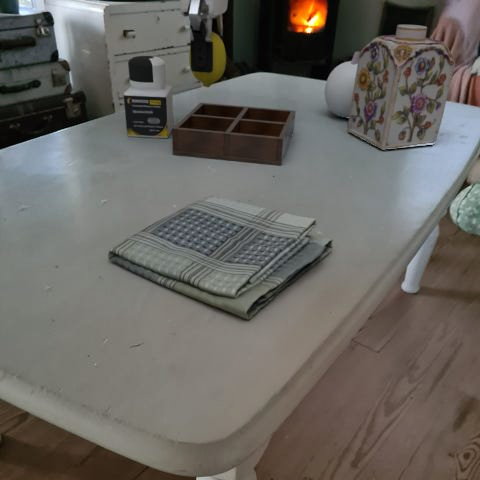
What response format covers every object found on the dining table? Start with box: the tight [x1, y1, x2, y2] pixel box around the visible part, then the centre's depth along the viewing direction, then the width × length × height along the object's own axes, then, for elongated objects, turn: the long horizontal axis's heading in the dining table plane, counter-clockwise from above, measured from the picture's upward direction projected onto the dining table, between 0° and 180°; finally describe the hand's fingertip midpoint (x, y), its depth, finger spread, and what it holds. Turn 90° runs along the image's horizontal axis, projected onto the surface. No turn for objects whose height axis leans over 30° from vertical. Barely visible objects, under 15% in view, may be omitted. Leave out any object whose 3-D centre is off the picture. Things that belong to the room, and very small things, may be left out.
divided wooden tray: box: [171, 102, 296, 166], centre depth 87 cm, size 17×17×4 cm
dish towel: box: [107, 195, 334, 320], centre depth 55 cm, size 19×18×3 cm
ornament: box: [324, 51, 361, 118], centre depth 101 cm, size 10×10×12 cm
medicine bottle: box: [123, 55, 175, 139], centre depth 88 cm, size 7×7×12 cm
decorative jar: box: [347, 24, 456, 149], centre depth 88 cm, size 12×12×18 cm
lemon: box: [188, 31, 227, 88], centre depth 77 cm, size 6×6×8 cm
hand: (207, 66), depth 78 cm, fingers closed on lemon, 5 cm apart
